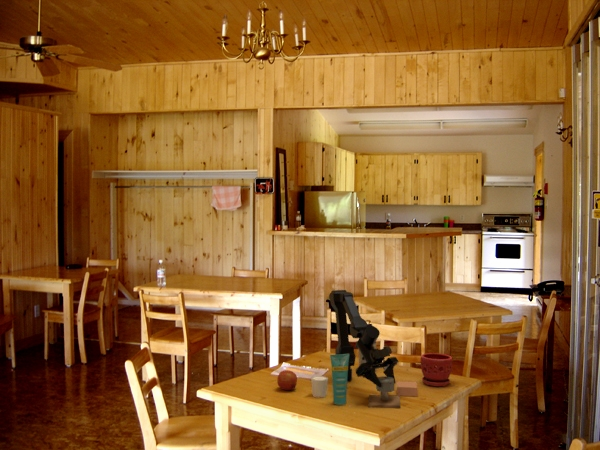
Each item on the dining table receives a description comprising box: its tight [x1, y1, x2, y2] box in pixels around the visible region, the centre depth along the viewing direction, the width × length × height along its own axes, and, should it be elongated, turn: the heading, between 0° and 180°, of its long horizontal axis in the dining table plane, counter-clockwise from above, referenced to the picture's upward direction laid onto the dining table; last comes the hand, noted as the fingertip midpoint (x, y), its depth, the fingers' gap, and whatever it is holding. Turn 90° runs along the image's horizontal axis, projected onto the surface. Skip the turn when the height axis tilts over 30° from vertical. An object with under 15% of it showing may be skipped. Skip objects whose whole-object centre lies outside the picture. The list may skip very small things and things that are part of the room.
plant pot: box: [420, 352, 453, 387], centre depth 257 cm, size 13×13×12 cm
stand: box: [396, 380, 418, 397], centre depth 245 cm, size 8×8×4 cm
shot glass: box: [310, 375, 329, 398], centre depth 243 cm, size 7×7×7 cm
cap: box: [375, 375, 395, 393], centre depth 233 cm, size 7×7×4 cm
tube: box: [329, 354, 349, 406], centre depth 232 cm, size 7×5×19 cm, turn 103°
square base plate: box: [368, 391, 401, 409], centre depth 233 cm, size 12×12×8 cm
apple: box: [277, 369, 298, 391], centre depth 251 cm, size 8×8×8 cm
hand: (387, 385), depth 232 cm, fingers closed on cap, 7 cm apart
